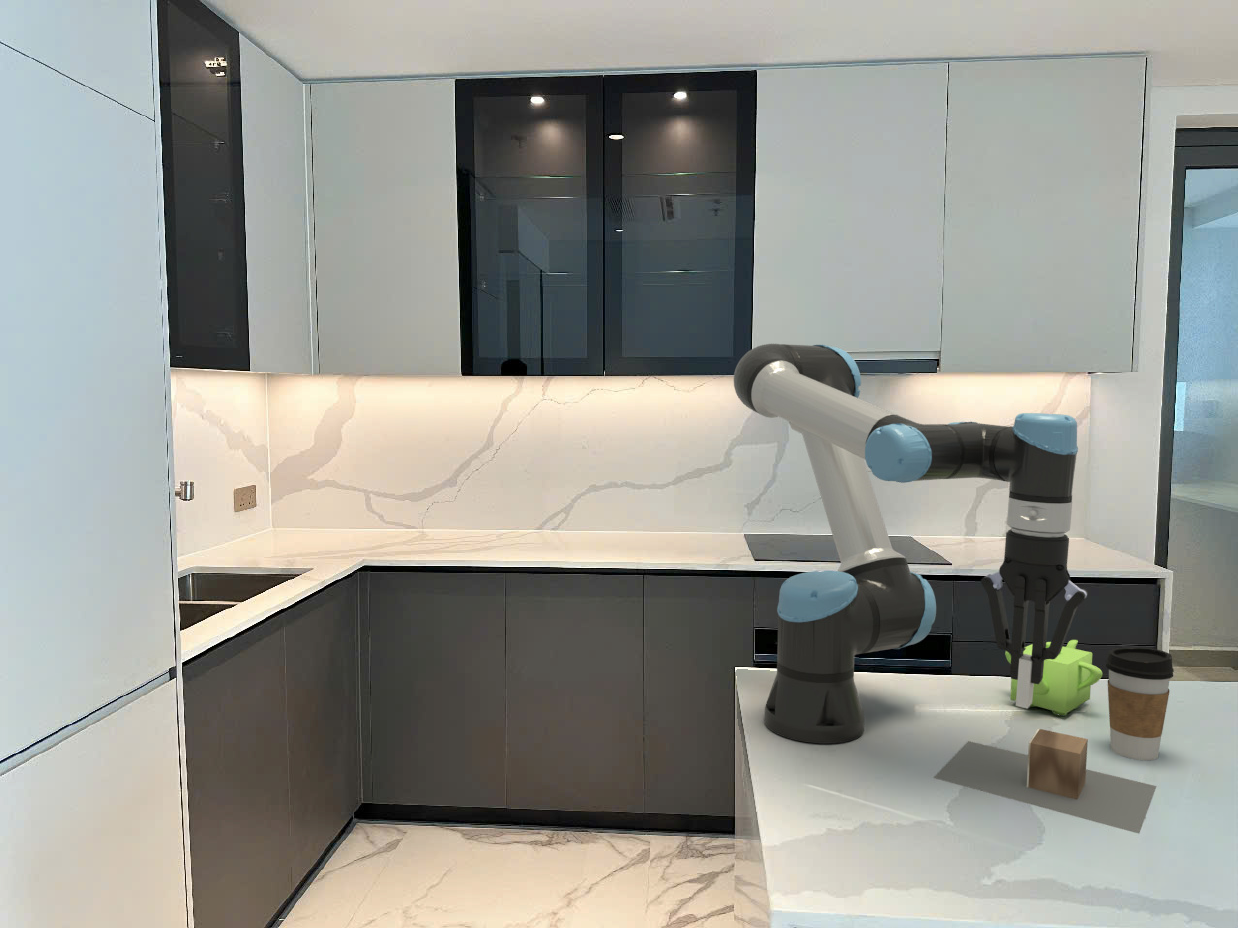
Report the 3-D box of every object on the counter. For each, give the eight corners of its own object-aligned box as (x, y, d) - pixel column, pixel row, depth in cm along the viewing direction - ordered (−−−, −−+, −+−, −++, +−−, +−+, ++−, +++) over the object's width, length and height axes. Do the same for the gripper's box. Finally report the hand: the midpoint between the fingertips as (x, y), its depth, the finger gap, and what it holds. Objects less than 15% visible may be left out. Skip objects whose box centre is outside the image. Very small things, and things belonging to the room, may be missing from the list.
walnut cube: (1028, 742, 115) (1080, 753, 112) (1037, 728, 120) (1087, 738, 117) (1026, 786, 116) (1077, 799, 112) (1035, 770, 121) (1085, 782, 117)
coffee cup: (1178, 768, 123) (1185, 662, 121) (1112, 762, 124) (1118, 658, 123) (1154, 744, 131) (1160, 645, 130) (1092, 739, 133) (1098, 642, 131)
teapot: (1073, 692, 154) (1076, 632, 153) (1118, 720, 141) (1122, 655, 140) (986, 691, 154) (989, 631, 153) (1024, 720, 140) (1027, 655, 139)
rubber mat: (933, 779, 118) (933, 777, 118) (968, 742, 131) (968, 740, 131) (1139, 835, 104) (1139, 833, 104) (1156, 788, 116) (1156, 785, 116)
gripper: (978, 528, 117) (965, 700, 120) (1087, 542, 109) (1072, 725, 112) (992, 521, 123) (981, 685, 126) (1098, 534, 115) (1082, 708, 118)
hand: (1023, 704), depth 119 cm, fingers closed
